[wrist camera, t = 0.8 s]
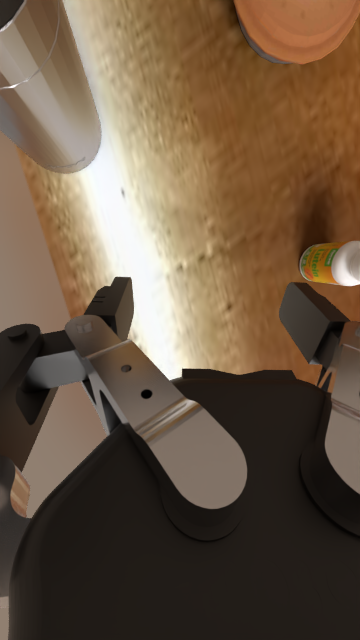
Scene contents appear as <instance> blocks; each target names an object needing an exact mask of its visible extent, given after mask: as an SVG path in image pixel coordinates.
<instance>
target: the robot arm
mask: <svg viewBox="0 0 360 640" xmlns="http://www.w3.org/2000/svg"><path fill="white" fill-rule="evenodd" d="M0 130H1V131H2V132H3V133H4V134H5V135H6V136H7V137H8V138H9V139H11V140H12V141H13V142H14V143H15V144H16V145H17V146H18V147H19V148H20V149H22V150H23V151H24V152H25V153H26V154H27V155H28V156H29V157H31V158H32V159H33V160H34V161H35V162H36V163H37V164H39V165H41V166H42V167H44V168H46V169H48V170H51V171H53V172H57V173H74V172H77V171H80V170H82V169H83V168H85V167H87V166H88V165H89V164H90V163H91V162H92V161H93V160H94V158H95V156H96V154H97V153H98V150H99V147H100V143H101V125H100V121H99V117H98V114H97V111H96V107H95V104H94V101H93V97H92V94H91V91H90V88H89V84H88V81H87V78H86V75H85V72H84V69H83V65H82V62H81V59H80V56H79V53H78V49H77V46H76V43H75V40H74V37H73V33H72V30H71V27H70V24H69V21H68V17H67V14H66V11H65V8H64V5H63V1H62V0H0ZM133 314H134V302H133V290H132V280H131V277H115V278H114V280H113V282H112V284H111V286H104V287H103V288H101V289H100V290H98V291H97V293H96V294H95V296H94V298H93V300H92V302H91V303H90V305H89V306H88V308H87V310H86V311H85V313H84V315H82V316H78V317H75V318H73V319H71V320H70V321H69V322H68V323H67V324H66V325H65V330H62V331H57V332H51V333H46V334H42V333H41V331H40V328H39V327H38V326H36V325H33V324H21V325H16V326H13V327H10V328H8V329H5V330H4V331H2V332H1V333H0V608H5V607H9V634H8V640H360V322H358V321H350V320H349V319H348V318H347V317H346V316H345V315H344V314H343V313H341V312H340V311H339V310H338V309H336V307H335V306H334V305H333V304H331V302H330V301H328V300H327V299H326V298H325V297H323V296H322V295H320V294H318V293H317V292H316V291H315V290H314V289H313V288H312V287H311V286H309V285H308V284H307V283H298V282H291V283H289V284H288V286H287V288H286V291H285V294H284V297H283V300H282V303H281V306H280V310H279V317H280V320H281V322H282V324H283V325H284V327H285V328H286V330H287V331H288V333H289V334H290V336H291V337H292V339H293V340H294V342H295V343H296V345H297V346H298V348H299V350H300V351H301V353H302V354H303V356H304V357H305V359H306V360H307V362H308V363H309V364H322V365H323V366H322V368H321V369H320V371H319V374H318V377H317V380H316V383H315V385H313V384H311V383H308V382H305V381H302V380H298V379H296V377H295V375H294V373H293V372H292V370H262V371H257V372H253V373H248V374H243V375H236V374H231V373H226V372H221V371H216V370H212V369H182V377H180V378H176V379H173V380H170V381H169V380H168V379H167V377H166V376H165V375H164V374H163V373H162V372H161V371H160V370H159V369H158V368H157V367H156V366H155V365H154V364H153V363H152V361H151V360H150V359H149V358H148V357H147V356H146V355H145V354H144V353H143V352H142V351H141V350H140V349H139V348H138V347H137V345H136V344H135V343H134V342H133V341H132V340H130V339H127V337H128V334H129V330H130V326H131V322H132V319H133ZM78 381H80V382H81V384H82V386H83V388H84V390H85V392H86V393H87V395H88V396H89V399H90V401H91V402H92V404H93V406H94V408H95V410H96V411H97V413H98V415H99V418H100V420H101V423H102V426H103V428H104V430H105V432H106V434H107V437H106V438H105V439H104V440H103V441H102V442H101V443H100V444H99V445H98V446H97V447H96V448H95V449H94V450H93V451H92V452H91V453H90V454H89V455H88V456H87V457H86V458H85V459H84V460H83V461H82V462H81V463H80V464H79V465H78V466H77V467H76V468H75V469H74V470H73V471H72V472H71V473H70V474H69V475H68V476H67V477H66V478H65V479H64V480H63V481H62V482H61V483H60V484H59V485H58V486H57V487H56V488H55V489H54V490H53V491H52V492H51V493H50V494H49V496H48V497H47V498H46V499H45V500H44V501H43V502H42V504H41V505H40V506H39V508H38V509H37V511H36V512H35V514H34V515H33V517H32V518H27V515H26V510H27V504H28V500H29V496H30V487H29V483H28V481H27V480H26V479H25V477H24V476H23V474H22V470H23V468H24V465H25V463H26V461H27V459H28V456H29V454H30V452H31V449H32V447H33V445H34V443H35V440H36V438H37V436H38V433H39V431H40V429H41V427H42V424H43V422H44V420H45V417H46V415H47V413H48V410H49V408H50V405H51V403H52V401H53V399H54V397H55V394H56V391H57V390H58V387H59V386H62V385H66V384H70V383H74V382H78Z"/></svg>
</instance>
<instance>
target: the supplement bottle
mask: <svg viewBox="0 0 360 640" xmlns="http://www.w3.org/2000/svg"><path fill="white" fill-rule="evenodd" d="M299 267H300V272H301V274H302V276H303V277H304V278H305V279H307V280H309V281H314V282H322V283H329V284H337V285H344V286H354V285H358V284H360V241H347V242H336V243H324V244H316V245H313V246H311V247H309V248H308V249H307V250H306V251H305V252H304V253H303V255H302V257H301V259H300V264H299Z"/></svg>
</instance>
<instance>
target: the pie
mask: <svg viewBox="0 0 360 640" xmlns="http://www.w3.org/2000/svg"><path fill="white" fill-rule="evenodd" d="M233 1H234V4H235V8H236V13H237V17H238V20H239V24H240V27H241V31H242V33H243V34H244V36H245V38H246V40H247V42H248V43H249V45H250V46H251V47H252V48H253V49H254V50H255V51H256V52H257V53H258V55H259V56H261V57H263V58H265V59H266V60H268V61H270V62H272V63H281V64H288V63H297V64H305V63H309V62H312V61H315V60H319V59H322V58H323V57H324V56H326V55H327V54H329V53H330V52H332V51H333V50H335V49H336V48H338V47H339V45H340V44H341V42H342V41H343V40H344V38H345V37H346V35H347V34H348V33H349V31H350V30H351V28H352V27H353V25H354V23H355V21H356V19H357V17H358V15H359V13H360V0H233Z"/></svg>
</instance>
